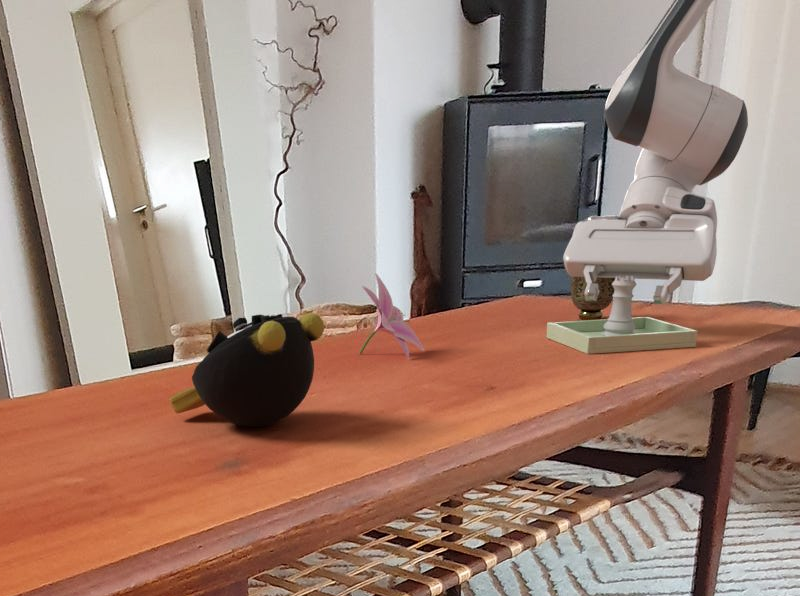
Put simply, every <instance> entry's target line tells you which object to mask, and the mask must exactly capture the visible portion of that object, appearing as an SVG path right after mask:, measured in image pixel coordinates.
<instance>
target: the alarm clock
mask: <svg viewBox="0 0 800 596" xmlns="http://www.w3.org/2000/svg"><path fill="white" fill-rule="evenodd" d="M232 327H233V329H234V330H235V331H234V332H232V333H231V334H229V335H226V334H225V333H223V332H222V331H220V330H219V331H218V332H217V334H216V335H215V336H214V338H213V339H212V340H211V342H210V344H209V345H208V347H207V349H206V352H207V354H206V355H205V356H204V358H203V359H202V360H201V361H200V362H199V363H198V364H197V365H196V366H195V368H194V370H193V374H192V375H191V380H192V384H193V386H191V387H189V388H186V389H184V390H183V391H181V392H179V393H176V394H175V395H173V396H171V397H169V403H170V406H171V408H172V410H173V411H174V412H175V413H176V414H181V413H186V412H188V411H192V410H196V409H199V408H201V407H204V406H206V407H207V409H209V410H210V411H212V413H214V414H215V415H217V417H219V418H221V419H222V420H224V421H227V422H228V423H231V424H234V425H237V426H241V427H248V428H249V427H252V428H253V427H263V426H268V425H272V424H275V423H277V422H279V421H281V420H283V419H285V418H287V417H288V416H289V415H290V414H292V413H293V412H294V411H295V410H297V408H298V407H299V406H300V405H301V404H302V402H303V401H304V399H305V398H306V397H307V395H308V393H309V391H310V389H311V385H312V382H313V378H314V372H315V356H314V348H313V344H312V342H314V341H318V340H319V339H320V338H321V337H322V336H323V334H324V331H325V325H324V320H323V319H322V318H321V316H320V315H319V314H317V313H314V312H310V313H304V314H303V315H302V317H300V319H298V318H297V317H295V316H283V314H282V313H279V314H276V315H275V314H272V315H270V314H267V315H264V314H254V315H251V322H248V319H247V318H246V317H238V318H237V319H236V320H235V321H234V322H232Z"/></svg>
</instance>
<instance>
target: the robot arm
mask: <svg viewBox="0 0 800 596" xmlns="http://www.w3.org/2000/svg"><path fill="white" fill-rule="evenodd" d="M714 1H715V0H673V1H672V3H671V4H670V6H669V7H668V9H667V11H666V12H665V14H664V15H663V17H662V18H661V20H660V21H659V22H658V24H657V26H656V27H655V28H654V30H653V31H652V33H651V35H650V36H649V38H648V39H647V40H646V42H645V44H644V45H643V46H642V48H641V49H640V50H639V52H637V53H638V54H637V55H636V56H635V58H634V59H633V60H632V61H631V62H630V63H629V64H628V65H627V67H625V69H624V70H623V71H622V72H621V74H620V75H619V77H617V79H616V80H615V82H614V84H613V85H612V87H611V90H610V91H609V94H608V96H607V99H606V102H605V105H604V106H605V107H604V108H603V113H604V119H605V122H606V126H607V128H608V131H609V132H610V134H611V136H612V138H613V139H614V140H616V141H619V142H622V143H625V144H628V145H631V146H634V147H638V148H639V147H640V148H641V149H642V150H641V151H640V154H639V156H638V159H637V162H636V164H635V168H634V177H633V178H634V179H633V180H632V181H631V183H630V185H629V186H628V189H627V191H626V194H625V196H624V199H623V202H622V205H621V208H620V210H619V214H618V215H604V216H598V215H589V216H587V218H586V219H583V220H580V221H578V222H577V223H576V224H575V226H574V230H573V232H572V236H571V238H570V240H569V242H568V243H567V246H566V248H565V250H564V253H563V257H562V260H563V265H564V269H565V271H566V273H567V275H568V276H570V277H571V276H572V277H585V281H586V284H587V286H586V289H585V293H584V296H585V300H586V301H597V296H598V295H599V292H600V291H599V288H598V287H599V286H598V283H592V282H595V281H596V279H597V277H601V278H615V276H618V277H619V276H623V277H624V278H625V276H629V277H631V276H634V277H635V278H634V280H635V279H636V280H642V279H643V280H665V283H664V284H663V285H656V287H655V291H654V292H653V297H652V298H653V304H654V305H655V304H656V305H657V304H658V305H666V304H667V301H668V298H669V296H670V295H671V294H672V293H674V292H675V291H676V290H677V289H678V288H679V287H680V286H681V285H682V282H683V281H693V282H694V281H696V282H704V281H706V280H708V279H709V278H710V277H711V276H713V273H714V270H715V266H716V261H717V254H718V253H717V252H718V243H717V242H718V241H717V232H718V231H717V230H718V215H717V209H716V208H717V206H716V203H715V200H714V199H712V198H711V197H707V196H703V195H699V194H696V193H693V191H694V189H695V187H697V186H703V185H705V184H707V183H709V182H710V181H713V180H714V179H717V178H718V177H720V176H721V175H722V174H723V173H725V172H726V171H727V169H729V167H731V166H732V163H733V162H734V160H735V159H736V157H737V155H738V154H739V151H740V149H741V146H742V144H743V143H744V142H743V141H744V140H745V136H746V134H747V130H748V127H749V117H748V109H747V106H746V103H745V101H744V99H741V98H740V97H738V96H737V95H735V94H733V93H731V92H729V91H727V90H725V89H723V88H721V87H719V86H716V85H714V84H710V83H708V82H706V81H704V80H701V79H699V78H698V77H696V76H693V75H691V74H689V73H687V72H684V71H683V70H681V69H679V68H678V67H676V66H675V62H674V59H675V57H676V56H677V54H678V53H679V51H680V50H681V48H682V47H683V45H684V44H685V42H686V41H687V40H688V38H689V36H691V34H692V32H693V31H694V29H695V28H696V27H697V25H698V23H700V21H701V19H702V18H703V16H704V15H705V14H706V12H707V11H708V9H709V7H710V6H711V5H712V3H713V2H714Z"/></svg>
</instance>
